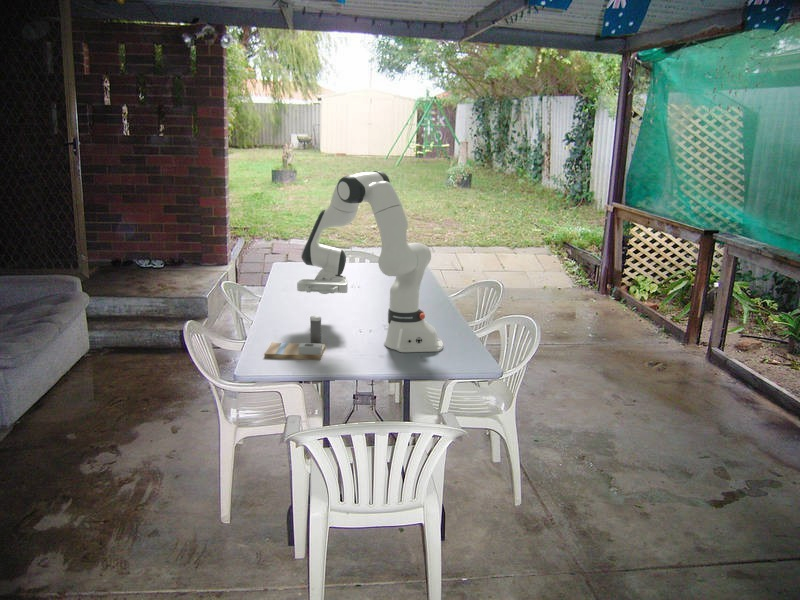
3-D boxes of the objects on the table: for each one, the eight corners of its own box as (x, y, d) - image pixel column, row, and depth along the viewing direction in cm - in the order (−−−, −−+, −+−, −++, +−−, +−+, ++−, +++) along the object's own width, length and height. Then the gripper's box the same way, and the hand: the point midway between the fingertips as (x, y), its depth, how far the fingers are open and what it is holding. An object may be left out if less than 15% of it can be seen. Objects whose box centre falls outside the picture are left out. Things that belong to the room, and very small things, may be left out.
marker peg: (322, 343, 261) (322, 315, 258) (320, 346, 257) (320, 318, 254) (311, 342, 261) (311, 315, 259) (309, 346, 257) (309, 318, 254)
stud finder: (322, 351, 248) (322, 343, 247) (320, 355, 244) (320, 347, 243) (300, 350, 248) (300, 342, 247) (298, 354, 244) (298, 346, 243)
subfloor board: (325, 348, 256) (325, 344, 255) (320, 359, 243) (320, 355, 243) (272, 346, 256) (271, 342, 256) (264, 357, 244) (264, 353, 243)
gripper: (299, 274, 280) (293, 282, 267) (349, 276, 280) (346, 284, 266) (299, 289, 282) (293, 297, 268) (349, 291, 281) (345, 299, 268)
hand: (320, 291), depth 267 cm, fingers open, 8 cm apart
